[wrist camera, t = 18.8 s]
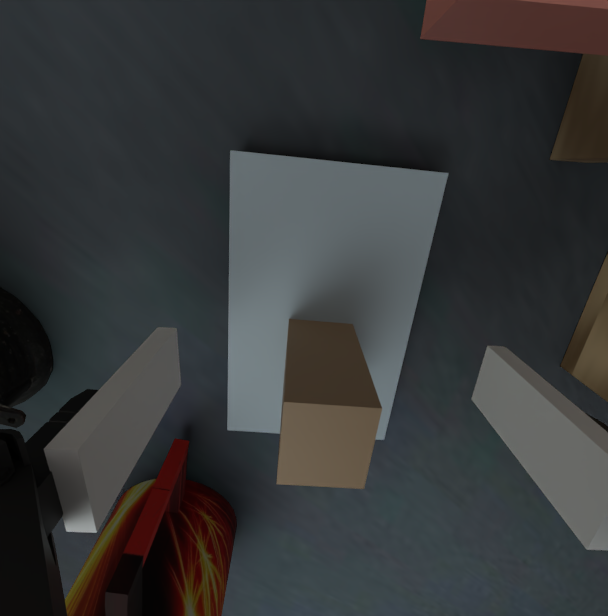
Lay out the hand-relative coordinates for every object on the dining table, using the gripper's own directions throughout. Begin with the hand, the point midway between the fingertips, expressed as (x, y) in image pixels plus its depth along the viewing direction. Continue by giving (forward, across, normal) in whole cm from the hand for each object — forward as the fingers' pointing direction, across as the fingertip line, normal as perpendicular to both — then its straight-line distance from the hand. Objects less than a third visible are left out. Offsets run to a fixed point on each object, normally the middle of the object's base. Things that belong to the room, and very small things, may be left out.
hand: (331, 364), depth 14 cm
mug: (+7, +11, +17) cm, 21 cm away
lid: (+5, 0, 0) cm, 6 cm away
